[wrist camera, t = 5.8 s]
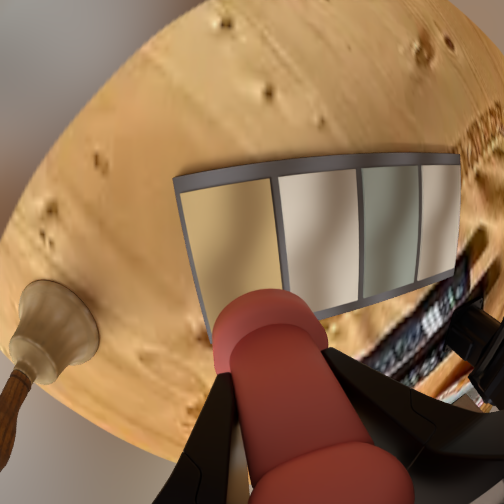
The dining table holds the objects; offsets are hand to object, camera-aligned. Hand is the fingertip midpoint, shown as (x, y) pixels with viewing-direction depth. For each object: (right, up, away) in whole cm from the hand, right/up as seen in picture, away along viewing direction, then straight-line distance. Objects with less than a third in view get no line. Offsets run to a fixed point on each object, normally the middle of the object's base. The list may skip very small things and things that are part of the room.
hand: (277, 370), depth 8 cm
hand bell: (-17, -2, +10) cm, 20 cm away
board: (+7, +5, +11) cm, 14 cm away
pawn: (0, +1, +2) cm, 2 cm away
